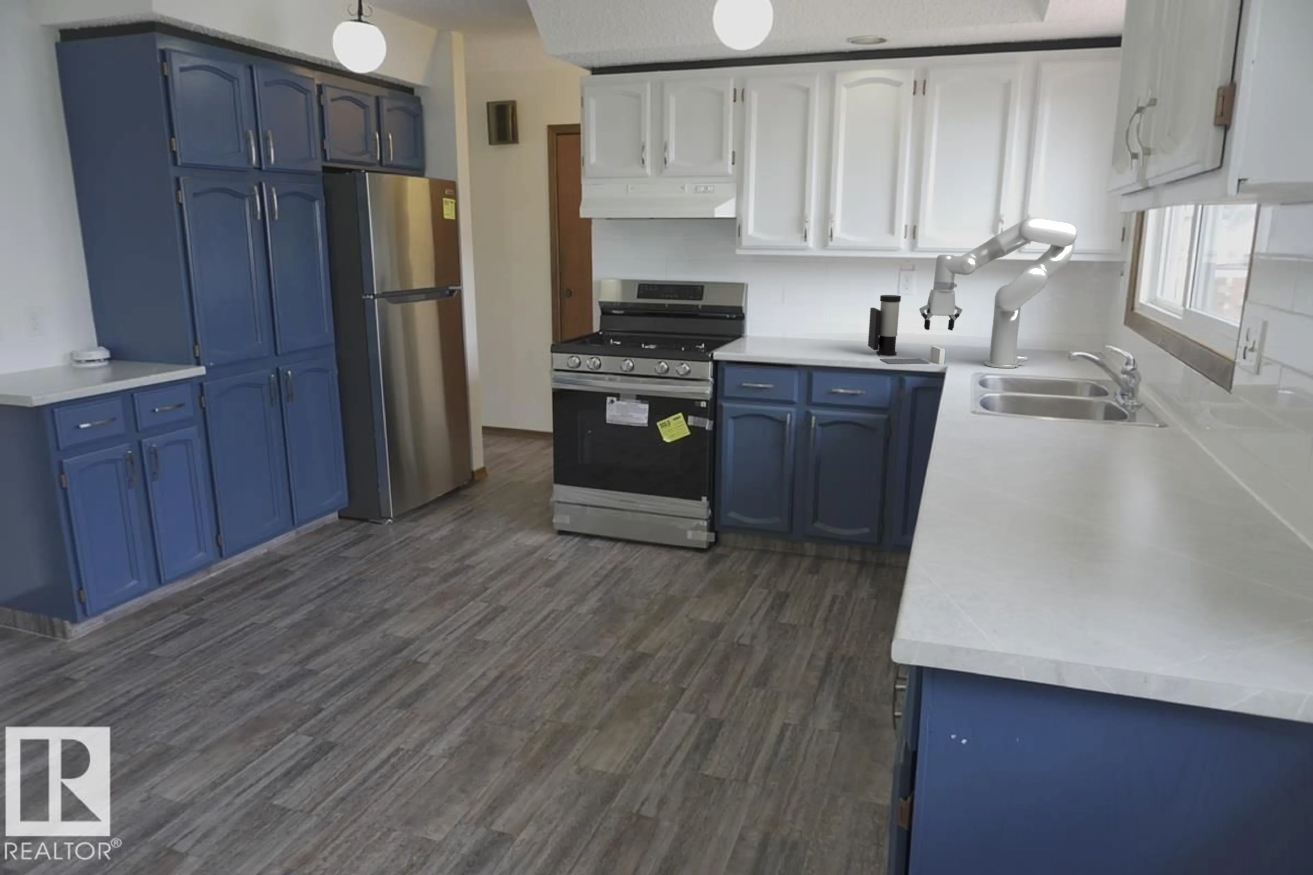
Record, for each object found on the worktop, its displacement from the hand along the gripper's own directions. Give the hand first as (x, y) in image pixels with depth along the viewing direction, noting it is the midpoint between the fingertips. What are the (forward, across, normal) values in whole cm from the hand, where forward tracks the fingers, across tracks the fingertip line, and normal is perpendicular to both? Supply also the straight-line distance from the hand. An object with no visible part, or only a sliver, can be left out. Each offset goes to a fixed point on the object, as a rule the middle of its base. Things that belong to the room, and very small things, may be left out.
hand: (938, 329), depth 349 cm
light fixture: (+14, +14, -21) cm, 29 cm away
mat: (+13, +12, -2) cm, 18 cm away
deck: (+13, -1, 0) cm, 13 cm away
